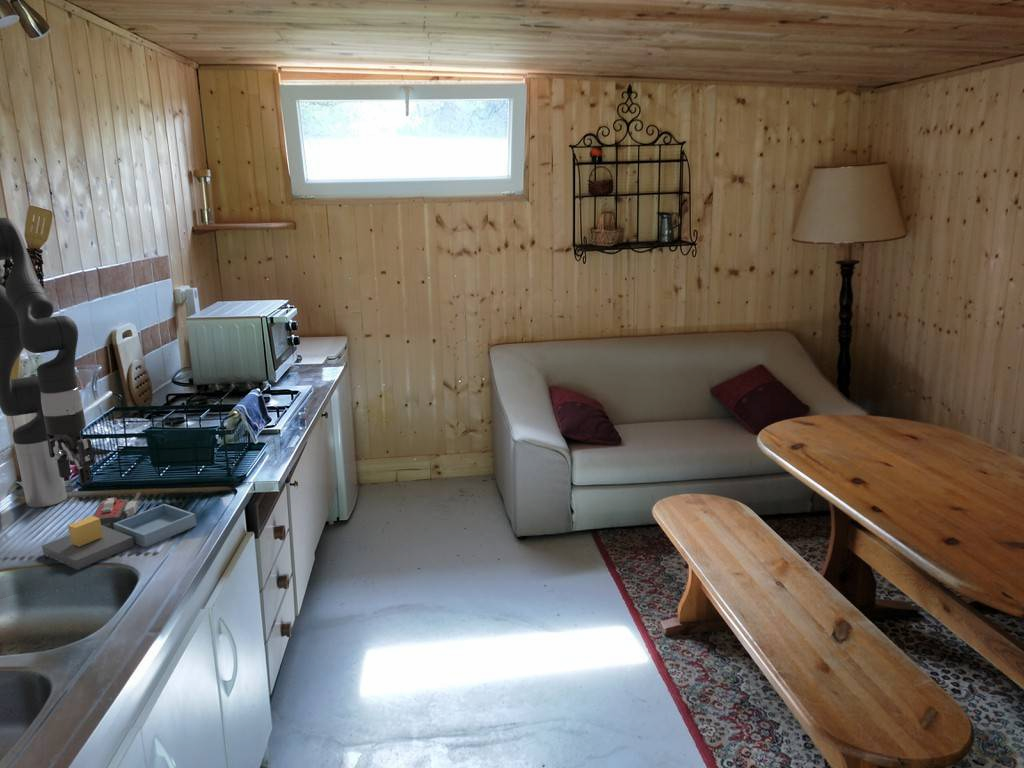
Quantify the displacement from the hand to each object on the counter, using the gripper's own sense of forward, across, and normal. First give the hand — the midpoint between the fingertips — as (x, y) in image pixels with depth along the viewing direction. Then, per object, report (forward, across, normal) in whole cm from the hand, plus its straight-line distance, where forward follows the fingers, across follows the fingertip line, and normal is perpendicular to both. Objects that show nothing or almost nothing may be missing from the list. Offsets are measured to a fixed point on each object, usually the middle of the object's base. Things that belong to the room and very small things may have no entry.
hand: (76, 480), depth 172 cm
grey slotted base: (+17, 0, 0) cm, 17 cm away
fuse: (+17, 0, 0) cm, 17 cm away
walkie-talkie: (+17, -14, +15) cm, 27 cm away
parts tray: (+17, +4, +14) cm, 22 cm away
